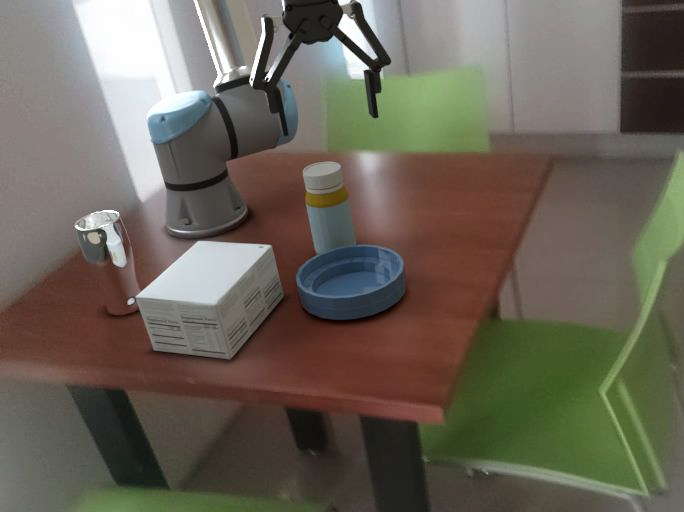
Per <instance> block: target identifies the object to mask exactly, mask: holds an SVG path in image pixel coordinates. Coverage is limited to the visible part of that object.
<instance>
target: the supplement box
mask: <svg viewBox="0 0 684 512" xmlns="http://www.w3.org/2000/svg"><path fill="white" fill-rule="evenodd" d="M141 291H142V292H140V293H139V294H138V295H137V296H136V297H135V298H136V301H137V304H138V306H139V312H140V314H141V318H142V320H143V323H144V326H145V329H146V332H147V334H148V337H149V340H150V344H151V345H152V349H153V351H154V352H165V353H173V354H181V355H192V356H199V357H206V358H207V357H208V358H216V359H225V360H229V361H230V360H232V358H233V357H234V356H235V355H236V354H237V353H238V351H239V350H240V349H241V348H242V347H243V346H244V344H245V343H246V342H247V341H248V339H249V338H250V337H251V336H252V335H253V334H254V332H255V331H256V330H257V329H258V328H259V327H260V325H261V324H262V323H263V322H264V321H265V320H266V318H267V317H268V316H269V315H270V314H271V312H272V311H273V310H274V309H275V308H276V306H277V305H278V304H279V303H280V302H281V300H283V298H284V297H285V295H284V290H283V286H282V282H281V278H280V274H279V270H278V266H277V261H276V257H275V252H274V249H273V245H271V244H262V243H246V242H245V243H243V242H227V241H226V242H225V241H223V242H222V241H212V240H211V241H209V240H198V241H196V242H195V243H194V244H193V245H192V246H191V247H190V248H189V249H187V251H185V252H184V253H183V254H182V255H181V256H180V257H178V259H177V260H175V261H174V262H173V263H172V264H171V265H170V266H168V268H166V269H165V270H164V271H163V272H162V273H160V274H159V276H157V278H155V279H154V280H153V281H152V282H150V283H149V284H148V285H147V286H146V287H145V288H144V289H142V290H141Z"/></svg>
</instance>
